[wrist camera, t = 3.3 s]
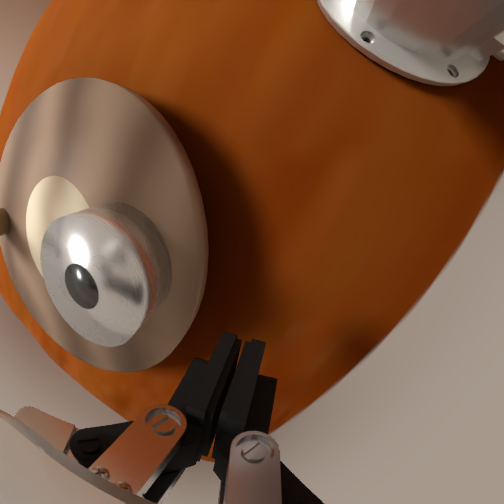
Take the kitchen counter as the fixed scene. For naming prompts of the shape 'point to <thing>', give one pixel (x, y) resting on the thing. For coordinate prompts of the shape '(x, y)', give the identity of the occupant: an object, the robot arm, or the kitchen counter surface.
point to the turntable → (100, 192)
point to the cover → (106, 271)
